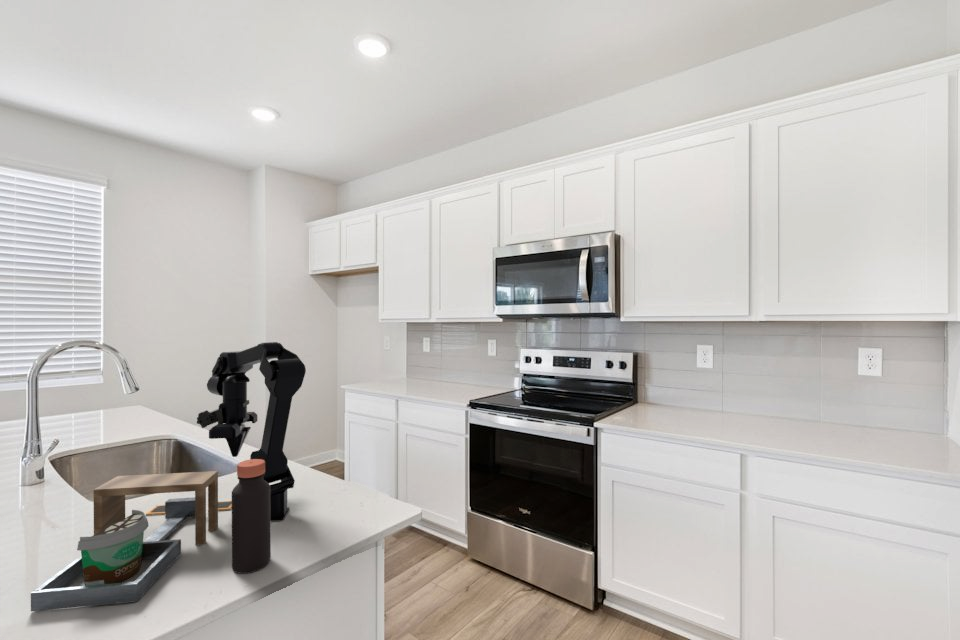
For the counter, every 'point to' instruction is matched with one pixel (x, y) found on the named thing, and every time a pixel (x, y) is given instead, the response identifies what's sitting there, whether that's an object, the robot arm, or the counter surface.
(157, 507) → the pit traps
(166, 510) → the long grey tray
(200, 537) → the tunnel
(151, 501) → the counter surface
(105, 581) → the food container
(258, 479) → the bottle
